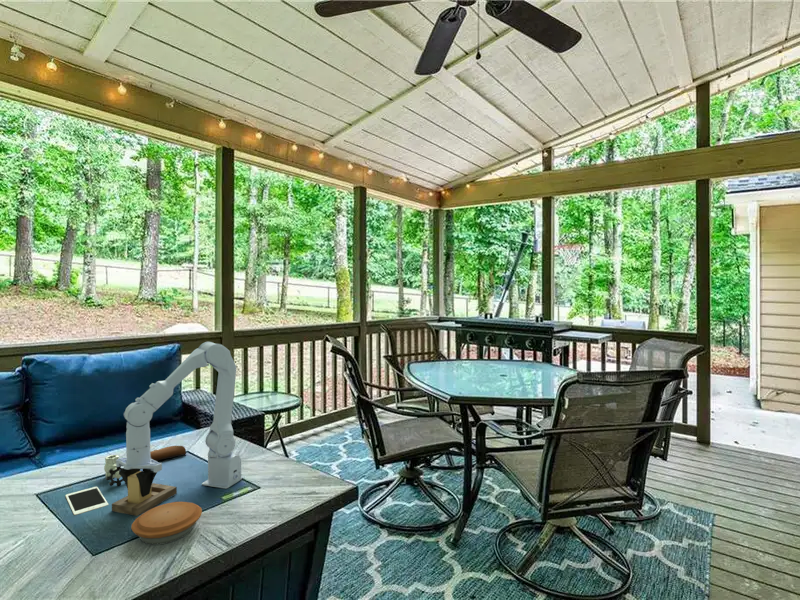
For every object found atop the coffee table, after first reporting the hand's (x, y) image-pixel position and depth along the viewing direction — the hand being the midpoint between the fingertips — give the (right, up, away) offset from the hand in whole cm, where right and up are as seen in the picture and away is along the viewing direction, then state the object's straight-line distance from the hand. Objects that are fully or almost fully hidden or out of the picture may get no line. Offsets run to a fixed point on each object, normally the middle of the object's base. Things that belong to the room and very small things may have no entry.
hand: (139, 494), depth 119 cm
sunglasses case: (-15, -4, +34) cm, 37 cm away
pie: (+15, -4, -13) cm, 20 cm away
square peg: (0, -3, 0) cm, 3 cm away
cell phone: (-17, -4, +3) cm, 18 cm away
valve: (-18, -4, +16) cm, 25 cm away
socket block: (+1, -3, +2) cm, 4 cm away
